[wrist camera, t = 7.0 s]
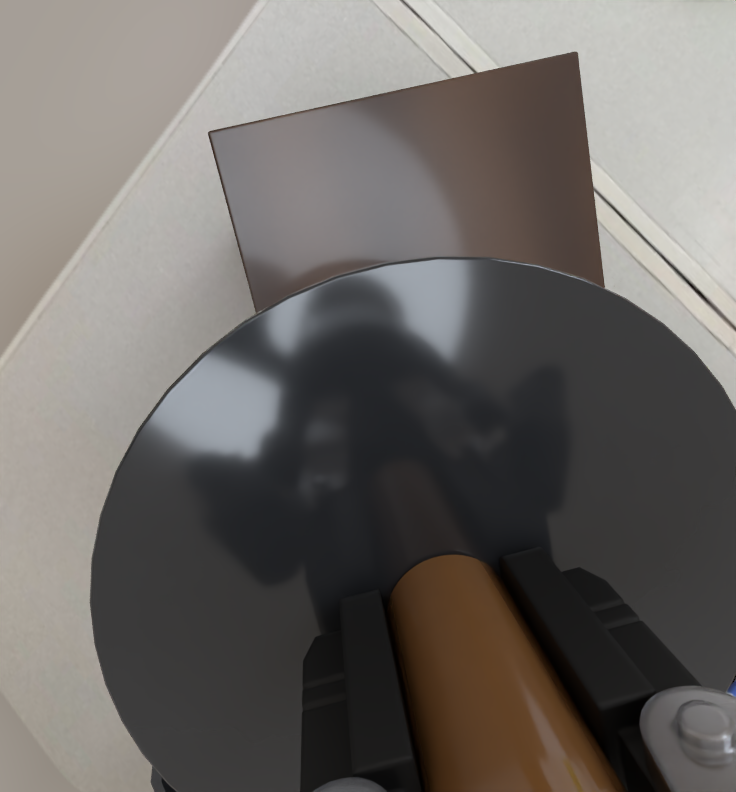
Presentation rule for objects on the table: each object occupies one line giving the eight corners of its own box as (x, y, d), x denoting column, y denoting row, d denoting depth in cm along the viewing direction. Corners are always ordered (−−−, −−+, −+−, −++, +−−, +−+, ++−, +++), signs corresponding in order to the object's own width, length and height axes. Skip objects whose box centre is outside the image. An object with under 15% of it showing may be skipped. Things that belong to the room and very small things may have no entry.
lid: (199, 911, 12) (114, 1405, 7) (-1, 336, 9) (-422, 441, 4) (755, 775, 13) (1065, 1135, 7) (742, 193, 10) (1247, 115, 4)
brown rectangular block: (307, 374, 40) (301, 482, 21) (263, 197, 37) (207, 131, 18) (474, 336, 41) (619, 406, 21) (442, 158, 38) (578, 50, 18)
